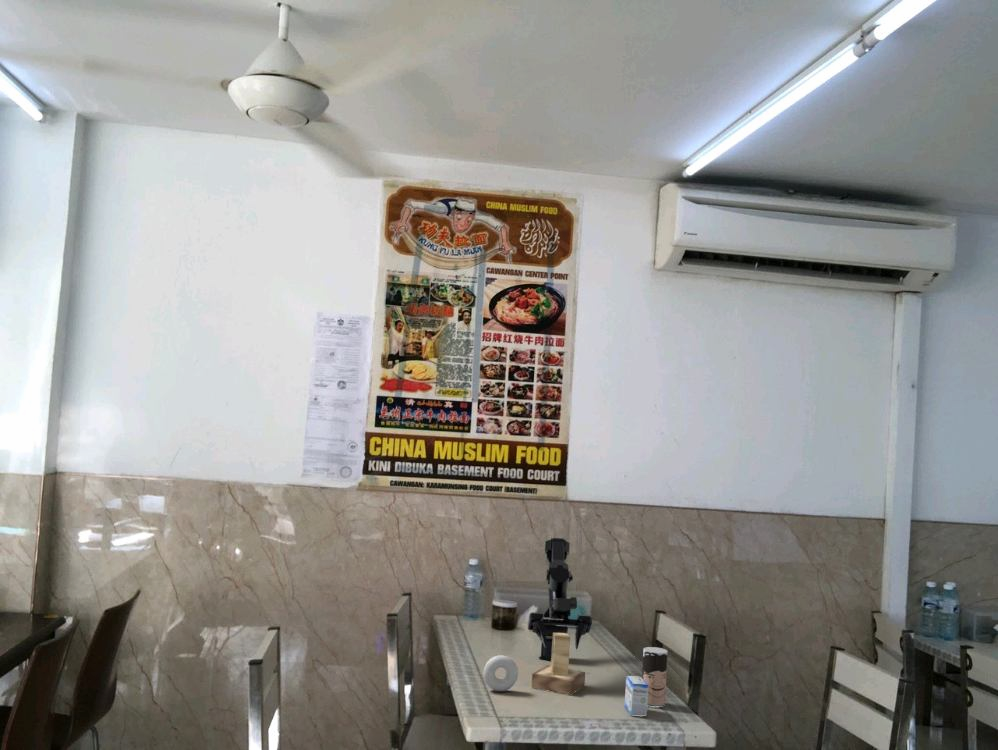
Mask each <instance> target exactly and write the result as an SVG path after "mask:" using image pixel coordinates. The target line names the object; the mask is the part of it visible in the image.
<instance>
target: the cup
mask: <svg viewBox="0 0 998 750" xmlns="http://www.w3.org/2000/svg"><path fill="white" fill-rule="evenodd" d="M642 652H643V653H642V654H643V655H642V667H641V668H642V669H641V677H642V679H643V680H644V681H645V682H646V683H647V684H648V704H647V705H649V706H664V705H665V706H666V692H667V691H666V690H667V689H666V688H667V687H666V686H667V671H668V654H669V653H668V650H667V649H665V648H662V647H657V646H656V647H653V646H647V647H643V651H642Z"/></svg>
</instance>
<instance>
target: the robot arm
mask: <svg viewBox="0 0 998 750" xmlns="http://www.w3.org/2000/svg"><path fill="white" fill-rule="evenodd" d="M566 540H567V539H565V538H564V537H563V538H562V537H551V538H550V539H548V540H545V542H544V552H543V554H544V555H545V560H546V562H547V564H548V569H546V570H545V581H546V582H547V585H548V589H547V591H548V594H547V595H548V599H547V600H548V601H547V602H548V605H547V609H546V611H545V612H544V613H543V612H533V611H531V612H530V613H529V615H528V620H527V630H528V631H531V632H532V633H534V634H536V636H537V637H538V638H539V641H541V646H540V649H541V650H540V656H538V659H539V658H540V659H539V660H544V659H545V661H549V660H550V661H549V662H551V655H552V638H553V633H568V632H569V627H575V634H574V635H575V637H574V638H575V643H574V645H575V650H578V648H579V644H580V641H581V638H582V636H585V635H586V634H588V633H590V630H591V627H592V624H593V618H592V617H591V615H588V614H578V615H577V618H576V619H575V618H574V619H573V618H570V617H571V613H572V612H571V610H577V607H578V601H577V597H576V596H575V597H573V596H571V597H569V598H568V593H567V591H568V589H569V583H571V581H573V579H574V576H573V575H572V573H571V572H572V571H571V570H569V564H568V563H566V562H567V557H568V556H569V555H570V545H571V544H570V543H571V542H568V541H566ZM568 634H569V633H568Z"/></svg>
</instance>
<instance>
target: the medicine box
mask: <svg viewBox="0 0 998 750" xmlns="http://www.w3.org/2000/svg"><path fill="white" fill-rule="evenodd" d="M625 677H626V678H625V693H624V705H623V707H624V709H625V708H626V709H627V710H626V709H625V710H626V711H627V712H628V714H629V713H630V714H631V715H647V716H648V707H647V704H648V684H647V683H646V682H645V681H644V680H643V679H642V676H637V675H626V676H625ZM630 714H629V715H630ZM631 715H630V716H631Z"/></svg>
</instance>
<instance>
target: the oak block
mask: <svg viewBox="0 0 998 750" xmlns="http://www.w3.org/2000/svg"><path fill="white" fill-rule="evenodd" d="M570 645H571V635H569V633H553V638H552V655H551V661H550V666H551V672H552V674H553V675H568V669H569V666H570V664H569V663H570V651H571V649H570Z"/></svg>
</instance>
